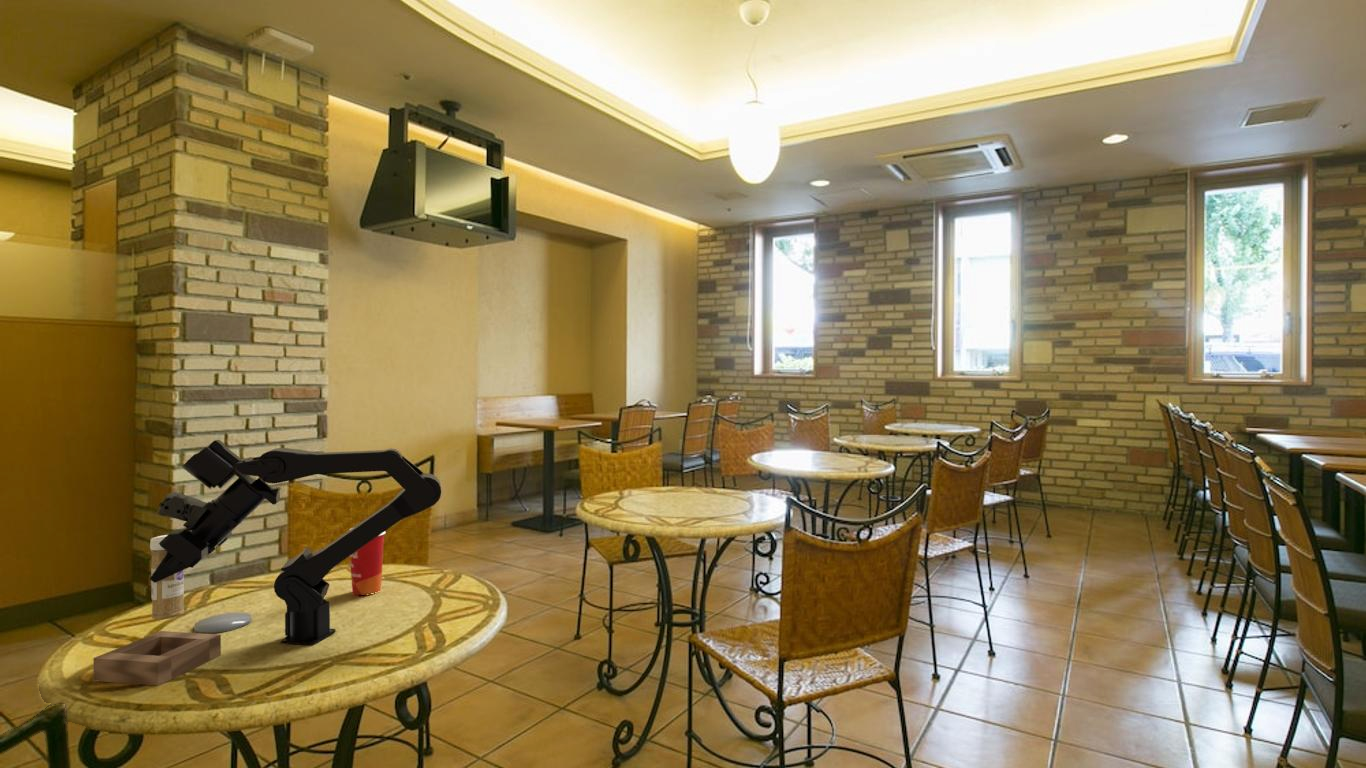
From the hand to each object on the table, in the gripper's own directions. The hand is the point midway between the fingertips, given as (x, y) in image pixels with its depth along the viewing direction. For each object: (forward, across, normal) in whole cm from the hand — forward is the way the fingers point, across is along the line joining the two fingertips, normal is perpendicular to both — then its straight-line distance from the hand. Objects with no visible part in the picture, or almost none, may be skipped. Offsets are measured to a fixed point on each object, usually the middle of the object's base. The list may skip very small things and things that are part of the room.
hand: (157, 576), depth 114 cm
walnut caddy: (+8, +6, +11) cm, 15 cm away
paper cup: (-11, -26, +31) cm, 42 cm away
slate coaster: (+5, -13, +14) cm, 20 cm away
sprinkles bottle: (+4, 0, +6) cm, 7 cm away
